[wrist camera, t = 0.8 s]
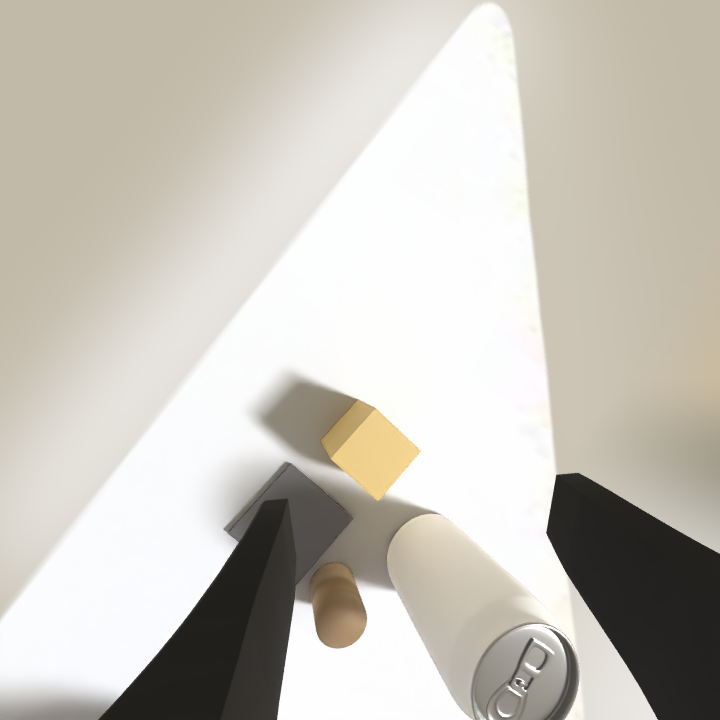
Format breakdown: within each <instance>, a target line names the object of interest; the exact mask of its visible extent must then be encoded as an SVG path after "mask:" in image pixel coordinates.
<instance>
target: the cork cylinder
mask: <svg viewBox="0 0 720 720" xmlns="http://www.w3.org/2000/svg"><path fill="white" fill-rule="evenodd" d="M310 593H311V600H312V606H313V613H314V619H315V626H316V632H317V635H318V637H319V639H320V640H321V642H322V643H324V644H325V645H326V646H328V647H331V648H344V647H347V646H350V645H351V644H353V643H354V642H356V641H357V640H358V639H359V638H360V636H361V635H362V634H363V632H364V630H365V627H366V623H367V614H366V610H365V608H364V605H363V602H362V599H361V597H360V594H359V591H358V588H357V586H356V583H355V580H354V577H353V575H352V572H351V571H350V569H349V568H348V567H346V566H345V565H343V564H341V563H329V564H326V565H324V566H322V567H321V568H319V569H318V570H317V571H316V572H315V574H314V575H313V577H312V579H311V583H310Z"/></svg>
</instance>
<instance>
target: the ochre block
mask: <svg viewBox="0 0 720 720" xmlns="http://www.w3.org/2000/svg"><path fill="white" fill-rule="evenodd" d="M321 443H322V444H323V446H324V448H325V450H326V452H327V453H328V455H329V457H330V459H331V460H332V461H333V462H335V463H336V464H337V465H338V466H339V467H340V468H341V469H342V470H344V471H345V472H346V473H347V474H348V475H349V476H350V477H351V478H352V479H354V480H355V481H356V482H357V483H358V484H359V485H360V486H361V487H363V488H364V489H365V490H366V491H367V492H368V493H369V494H370V495H371V496H373V497H374V498H375V499H376V500H377V501H379V500H380V499H381V497H382V496H383V495H384V494H385V493H386V492H387V490H388V489H389V488H390V487H391V486H392V485H393V483H394V482H395V481H396V480H397V479H398V477H399V476H400V475H401V474H402V473H403V472H404V470H405V469H406V468H407V467H408V466H409V465H410V463H411V462H412V461H413V460H414V459H415V458H416V456H417V455H418V454H419V453H420V452H421V451H420V450H419V449H418V448H417V447H416V446H415V445H414V444H413V443H412V442H411V441H410V440H409V439H408V438H407V437H406V436H405V435H403V434H402V433H401V432H400V431H399V430H398V429H397V428H396V427H395V426H394V425H393V424H392V423H391V422H390V421H389V420H388V419H387V418H386V417H385V416H383V415H382V414H381V413H380V412H379V411H378V410H377V409H376V408H374V407H372V406H370V405H368V404H366V403H364V402H362V401H360V400H357V401H356V402H355V403H354V404H353V405H352V407H351V408H350V409H349V410H348V411H347V412H346V413H345V414H344V415H343V416H342V418H341V419H340V420H339V421H338V422H337V423H336V424H335V425H334V426H333V427H332V429H331V430H330V431H329V432H328V433H327V434H326V435H325V436H324V437H323V439H322V440H321Z"/></svg>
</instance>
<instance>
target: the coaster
mask: <svg viewBox="0 0 720 720" xmlns="http://www.w3.org/2000/svg"><path fill="white" fill-rule="evenodd" d="M277 499H288V501H289V508H290V515H291V522H292V529H293V536H294V543H295V550H296V557H297V558H296V581H295V586H296V584H297V583H298V582H299V581H300V580H301V579H302V577H303V576H304V575H305V574H306V573H307V572H308V570H309V569H310V568H311V567H312V566H313V565H314V563H315V562H316V561H317V560H318V559H319V558H320V556H321V555H322V554H323V553H324V552H325V551H326V549H327V548H328V547H329V546H330V545H331V543H332V542H333V541H334V540H335V539H336V538H337V536H338V535H339V534H340V533H341V532H342V531H343V529H344V528H345V527H346V526H347V525H348V524H349V522H350V521H351V520H352V519H353V518H352V516H351V515H350V514H349V513H347V512H346V511H345V510H344V509H343V508H342V507H340V506H339V505H338V504H337V503H336V502H335V501H334V500H332V499H331V498H330V497H329V496H328V495H327V494H326V493H324V492H323V491H322V490H321V489H320V488H319V487H318V486H316V485H315V484H314V483H313V482H312V481H311V480H310V479H308V478H307V477H306V476H305V475H304V474H303V473H302V472H300V471H299V470H298V469H297V468H296V467H295V466H293V465H292V464H290V465H289V466H288V467H287V468H286V469H285V470H284V471H283V473H282V474H281V475H280V476H279V477H278V478H277V479H276V480H275V481H274V482H273V483H272V485H271V486H270V487H269V488H268V489H267V490H266V491H265V492H264V493H263V494H262V496H261V497H260V498H259V499H258V500H257V501H256V502H255V503H254V504H253V505H252V507H251V508H250V509H249V510H248V511H247V512H246V513H245V514H244V515H243V516H242V518H241V519H240V520H239V521H238V522H237V523H236V524H235V525H234V526H233V527H232V528H231V530H230V531H229V534H230V535H231V536H232V537H233V538H235V539H236V540H237V541H238V542H239V541H240V540H241V538H242V536H243V535H244V533H245V532H246V530H247V528H248V526H249V525H250V523H251V521H252V520H253V518H254V516H255V514H256V512H257V511H258V509H259V507H260V505H261V504H262V503H263V502H264V501H266V500H277Z"/></svg>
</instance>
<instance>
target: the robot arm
mask: <svg viewBox="0 0 720 720" xmlns="http://www.w3.org/2000/svg"><path fill="white" fill-rule="evenodd" d="M546 533H547V536H548V538H549V540H550V542H551V544H552V546H553V548H554V550H555V552H556V554H557V556H558V558H559V560H560V562H561V564H562V566H563V568H564V570H565V572H566V573H567V575H568V576H569V578H570V579H571V581H572V583H573V584H574V586H575V587H576V589H577V590H578V592H579V593H580V595H581V596H582V598H583V600H584V601H585V603H586V604H587V606H588V607H589V609H590V610H591V612H592V613H593V615H594V616H595V618H596V619H597V621H598V622H599V624H600V625H601V627H602V629H603V630H604V632H605V633H606V635H607V636H608V638H609V639H610V641H611V642H612V644H613V645H614V647H615V648H616V650H617V651H618V653H619V654H620V656H621V657H622V659H623V661H624V662H625V664H626V665H627V667H628V668H629V670H630V672H631V673H632V675H633V676H634V678H635V680H636V681H637V683H638V685H639V686H640V688H641V689H642V692H643V693H644V695H645V697H646V699H647V701H648V702H649V704H650V706H651V708H652V710H653V712H654V713H655V715H656V717H657V719H658V720H720V554H719V553H717V552H715V551H714V550H712V549H710V548H708V547H706V546H704V545H702V544H700V543H699V542H697V541H695V540H693V539H691V538H690V537H688V536H686V535H684V534H683V533H681V532H679V531H677V530H675V529H674V528H672V527H670V526H669V525H667V524H665V523H663V522H662V521H660V520H658V519H656V518H655V517H653V516H651V515H650V514H648V513H646V512H645V511H643V510H641V509H639V508H638V507H636V506H635V505H633V504H631V503H629V502H628V501H626V500H624V499H623V498H621V497H619V496H618V495H616V494H615V493H613V492H611V491H609V490H608V489H606V488H604V487H603V486H601V485H599V484H598V483H596V482H594V481H592V480H591V479H589V478H587V477H585V476H583V475H581V474H579V473H572V474H561V475H556V480H555V486H554V492H553V497H552V503H551V509H550V515H549V520H548V526H547V532H546ZM296 558H297V557H296V550H295V543H294V536H293V529H292V522H291V515H290V508H289V501H288V499H277V500H266V501H264V502H263V503H262V504H261V505H260V507H259V509H258V511H257V512H256V514H255V516H254V518H253V520H252V521H251V523H250V525H249V526H248V528H247V530H246V532H245V533H244V535H243V536H242V538H241V540H240V541H239V543H238V545H237V546H236V548H235V549H234V551H233V552H232V554H231V555H230V557H229V558H228V560H227V561H226V563H225V565H224V566H223V568H222V569H221V571H220V572H219V574H218V575H217V577H216V578H215V579H214V581H213V582H212V584H211V585H210V586H209V588H208V589H207V591H206V592H205V593H204V595H203V596H202V597H201V599H200V600H199V602H198V603H197V604H196V606H195V607H194V608H193V610H192V611H191V612H190V614H189V615H188V616H187V618H186V619H185V620H184V622H183V623H182V624H181V625H180V627H179V628H178V629H177V630H176V632H175V633H174V634H173V635H172V637H171V638H170V639H169V640H168V642H167V643H166V644H165V645H164V646H163V648H162V649H161V650H160V651H159V652H158V654H157V655H156V656H155V657H154V658H153V660H152V661H151V662H150V663H149V664H148V665H147V666H146V668H145V669H144V670H143V671H142V672H141V673H140V674H139V676H138V677H137V678H136V679H135V680H134V681H133V682H132V683H131V685H130V686H129V687H128V688H127V689H126V690H125V691H124V692H123V694H122V695H121V696H120V697H119V698H118V699H117V700H116V701H115V702H114V703H113V704H112V706H111V707H110V708H109V709H108V710H107V711H106V712H105V713H104V714H103V715H102V716H101V717H100V718H99V719H98V720H277V715H278V707H279V700H280V693H281V686H282V680H283V673H284V666H285V660H286V653H287V647H288V640H289V633H290V626H291V620H292V613H293V606H294V599H295V581H296Z"/></svg>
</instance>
